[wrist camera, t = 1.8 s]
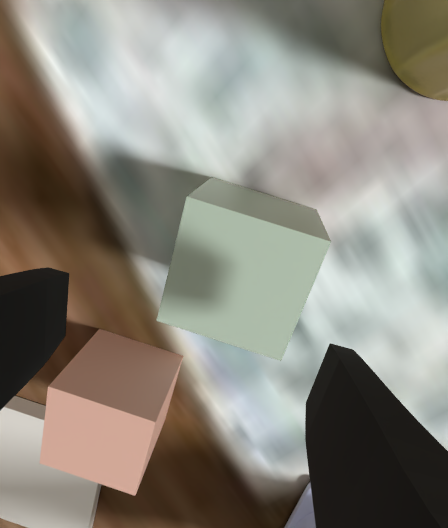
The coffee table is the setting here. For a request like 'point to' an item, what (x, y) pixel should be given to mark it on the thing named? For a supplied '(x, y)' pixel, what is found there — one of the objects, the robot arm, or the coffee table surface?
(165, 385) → the brick top
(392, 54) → the vase
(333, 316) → the coffee table surface
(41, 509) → the base plate
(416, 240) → the coffee table surface
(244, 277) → the brick bottom
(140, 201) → the coffee table surface
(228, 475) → the coffee table surface
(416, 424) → the robot arm
